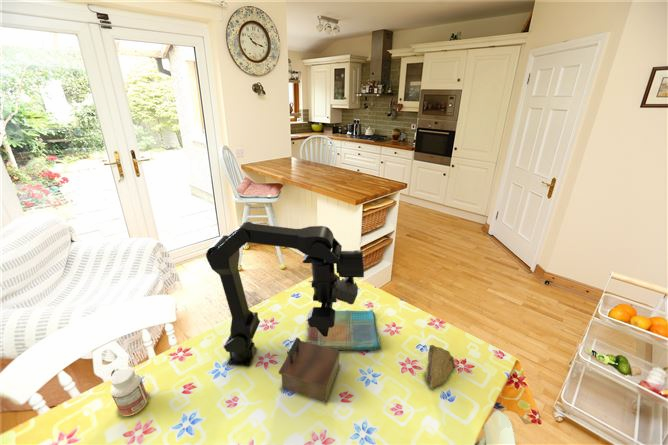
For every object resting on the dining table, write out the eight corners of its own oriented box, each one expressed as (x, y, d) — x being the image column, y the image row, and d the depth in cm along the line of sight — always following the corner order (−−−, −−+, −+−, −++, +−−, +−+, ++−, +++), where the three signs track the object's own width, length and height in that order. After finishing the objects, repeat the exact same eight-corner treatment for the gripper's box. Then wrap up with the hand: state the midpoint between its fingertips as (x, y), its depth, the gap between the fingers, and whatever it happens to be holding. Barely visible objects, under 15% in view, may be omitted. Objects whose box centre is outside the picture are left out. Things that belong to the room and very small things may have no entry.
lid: (278, 373, 77) (277, 359, 75) (296, 341, 87) (295, 327, 85) (326, 388, 73) (326, 373, 71) (339, 352, 83) (339, 338, 81)
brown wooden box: (282, 388, 79) (281, 374, 77) (299, 355, 89) (299, 342, 87) (326, 402, 75) (326, 388, 73) (338, 366, 85) (339, 352, 83)
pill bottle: (128, 394, 76) (115, 364, 72) (152, 392, 77) (142, 362, 73) (114, 418, 71) (100, 387, 66) (140, 416, 71) (128, 385, 67)
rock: (450, 349, 89) (419, 347, 88) (465, 346, 81) (432, 343, 80) (456, 390, 83) (423, 388, 82) (472, 391, 76) (436, 388, 75)
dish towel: (381, 352, 90) (382, 346, 89) (306, 351, 90) (306, 345, 89) (374, 313, 106) (374, 308, 105) (310, 313, 106) (310, 308, 105)
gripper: (354, 299, 64) (356, 351, 70) (356, 257, 81) (357, 302, 87) (304, 298, 65) (310, 350, 71) (317, 257, 82) (321, 301, 88)
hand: (327, 323), depth 80 cm, fingers open, 9 cm apart
